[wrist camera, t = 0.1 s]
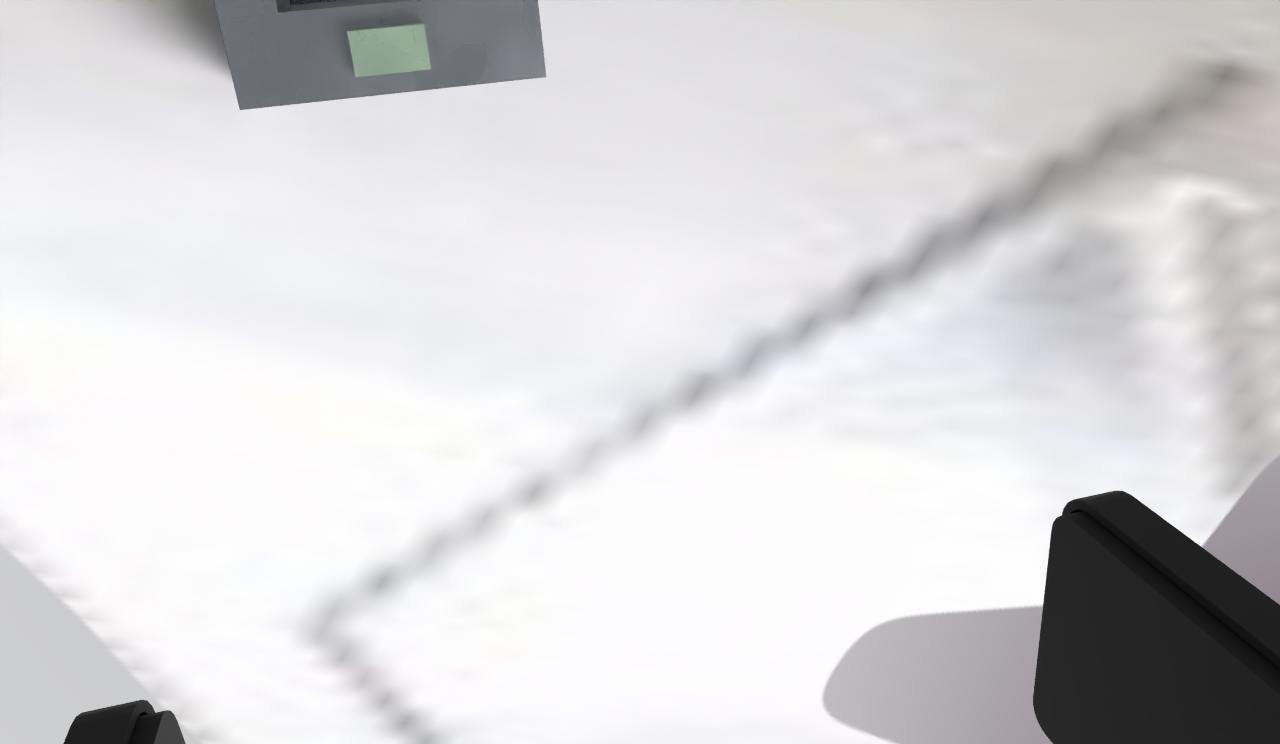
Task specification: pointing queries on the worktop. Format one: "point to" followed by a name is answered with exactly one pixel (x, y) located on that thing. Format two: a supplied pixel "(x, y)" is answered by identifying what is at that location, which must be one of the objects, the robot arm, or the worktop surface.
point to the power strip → (375, 47)
